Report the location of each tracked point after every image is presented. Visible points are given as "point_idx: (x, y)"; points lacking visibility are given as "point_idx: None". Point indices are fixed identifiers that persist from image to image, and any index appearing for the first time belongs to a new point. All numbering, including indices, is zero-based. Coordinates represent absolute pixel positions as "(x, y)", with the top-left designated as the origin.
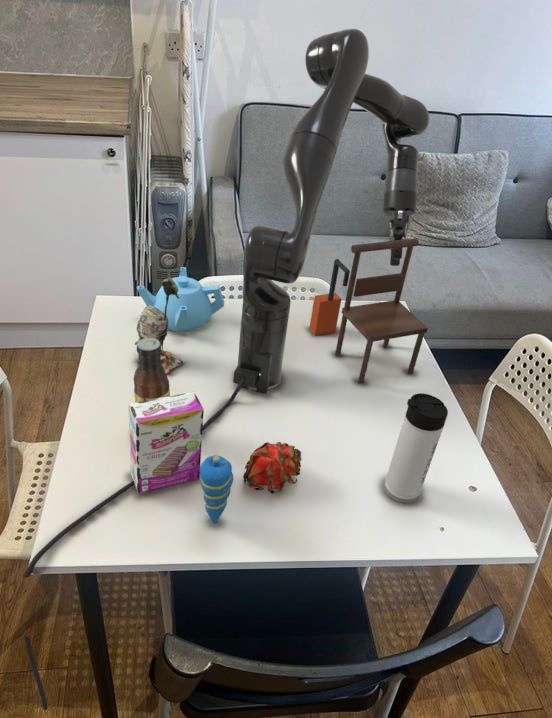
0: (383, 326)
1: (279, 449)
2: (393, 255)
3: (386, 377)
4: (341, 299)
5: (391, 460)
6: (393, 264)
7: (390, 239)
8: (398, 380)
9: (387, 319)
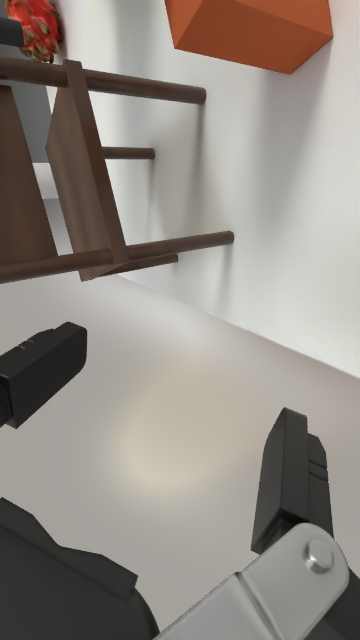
0: (62, 185)
1: None
2: (62, 332)
3: (164, 208)
4: (176, 48)
5: (46, 163)
6: (277, 420)
7: (214, 591)
8: (162, 228)
9: (73, 202)
